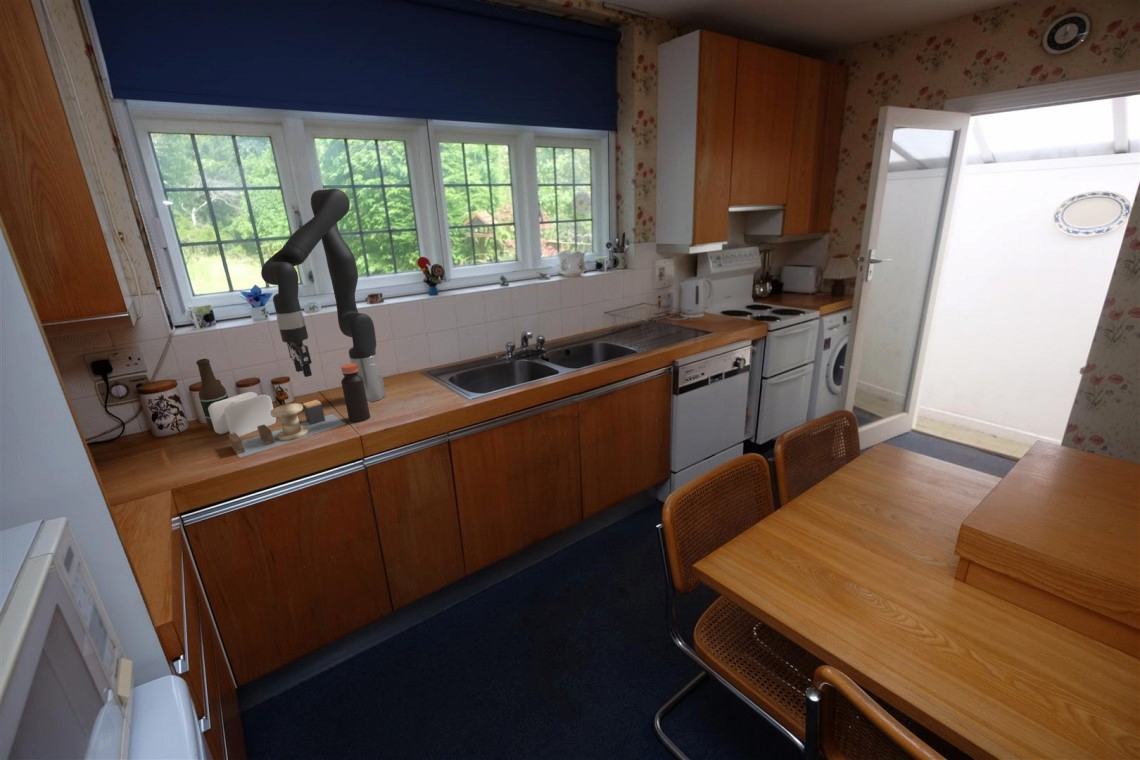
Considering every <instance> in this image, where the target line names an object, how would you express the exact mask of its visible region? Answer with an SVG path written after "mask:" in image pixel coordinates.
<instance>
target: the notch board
mask: <svg viewBox="0 0 1140 760" xmlns="http://www.w3.org/2000/svg"><path fill="white" fill-rule="evenodd" d="M257 427H258V430H257V431H258V433H259V435H258V436H260V438H261V439H262V440H263V441H264V442H265V443H266V444H267V445H269V444H273V443H274V439H273V436H272V432H273V431H272V430H271V429H270V428H269V427H268V426H267V427H266V426H265V425H260V426H257ZM227 436H228V440H229V443H230V444H229V445H230V447H231V448H232V450H233V451H234V452H235V453H236V455H237V454H241V453H244V452H245V450H244V446H243V443H242V441H243V439H241V437H239V436H238V435H237V434H236V433H232V434H230V433H229V434H227Z"/></svg>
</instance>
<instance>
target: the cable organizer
mask: <svg viewBox="0 0 1140 760" xmlns="http://www.w3.org/2000/svg"><path fill="white" fill-rule="evenodd" d="M273 405H274V404H273V401H272V397H271V396H269V395H268V394H260V395H258V394H257V393H256V392H253V391H246V392H244V393H240V394H237V395H234V396H231V397H228V398H227V399H224V400H221V401H218V402H214V403H212V404H211V405H210V406H209V407H208V411H209V414H210V417H211V420H212V424H213V427H214V430H213V431H214V432H215V433H216V434H218V435H222V434H226V433H229V434H232V433H236V434H237V435H238V436H239V438H241V437H242V436H245V435H247V434H250V433H253V432H255V431H258V427H257V426H260V425H265V426H266V427H267V428H268V427H269V426H272V425H274V424H275V423H276V422H277V417H272V416H271V413H270V412H271V410H273V409H274V408H275V407H274V406H273Z"/></svg>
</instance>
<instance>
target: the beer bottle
mask: <svg viewBox="0 0 1140 760" xmlns="http://www.w3.org/2000/svg"><path fill="white" fill-rule="evenodd" d="M210 362H211V360H210V359H208V358H201V359H197V360H196V362H195V363H196V365H197V366H198V367H197V368H198V371H199V372H198V373H199V376H200V381H201V382H200V383H201V385H200V387H199V390H198V398H199V401H200V405H201V408H202V411H203V414H204V417H205V420H206V423H207V426H208V428H209V430H211V429H212V431H215V430H214V427H213V424H212V420H211V417H210V414H209V411H208V407H209V406H210V405H211V404H212V403H214V402H218V401H221V400H224V399H227V398H229V395H228V392H227V390H226V387H225V386H224V385H223V384H222V383H220V382H219V381H217V380H218V379H217V378H216V377H215V373H214V371H213V369H212V366H211V364H210Z"/></svg>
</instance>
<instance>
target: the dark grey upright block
mask: <svg viewBox="0 0 1140 760" xmlns="http://www.w3.org/2000/svg"><path fill="white" fill-rule="evenodd" d="M302 406H303V411H304V414H305V419H306V422H308V423H310V424H311V425H313V424H316V423H319V422H323V421H325V417H324V416H325V414H324V410H323V409H324V408H323V405H322V402H321V401H320V400H318V399H314V400H311V401H307V402H303V403H302Z"/></svg>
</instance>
